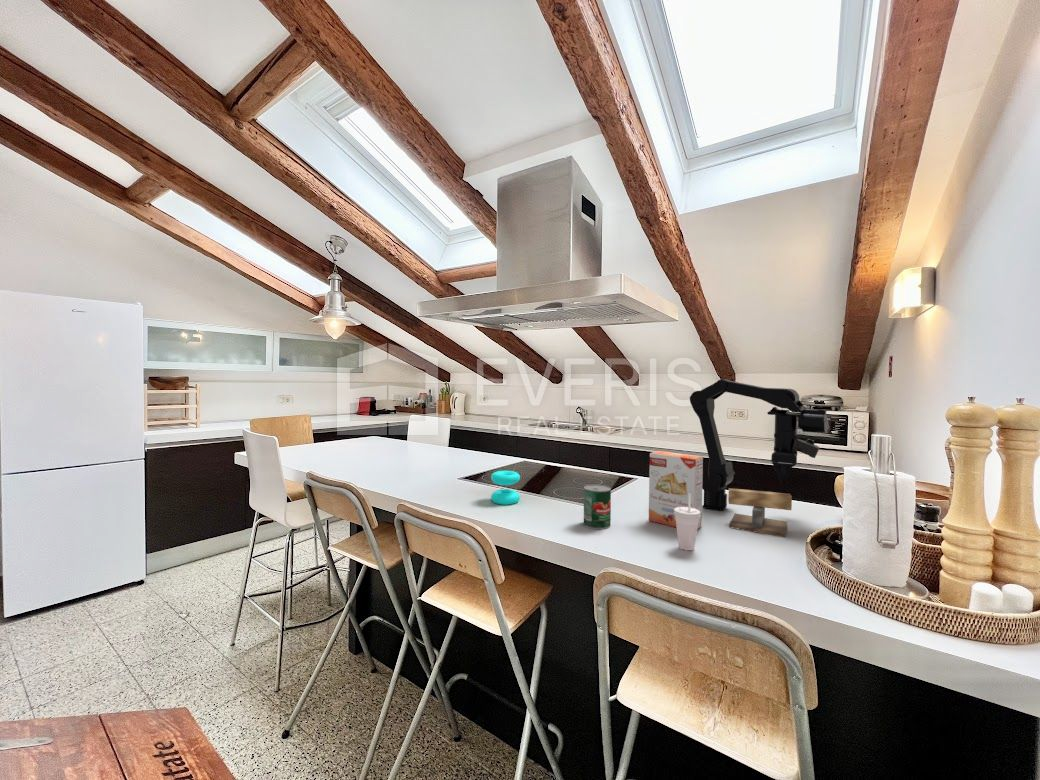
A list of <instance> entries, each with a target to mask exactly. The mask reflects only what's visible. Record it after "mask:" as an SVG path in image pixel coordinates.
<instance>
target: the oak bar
mask: <svg viewBox="0 0 1040 780" xmlns="http://www.w3.org/2000/svg"><path fill="white" fill-rule="evenodd" d="M792 497H793V496H792V495H791V493H785V492H784V493H783V492H775V491H774V492H773V491H763V490H754V489H752V490H751V489H740V488H730V487H729V488H728V493H727V503H728V504H729V505H735V506H746V507H763V508H765V509H766V508H767V509H775V510H785V511H792V507H793V506H792V504H793V503H792V501H793V498H792Z"/></svg>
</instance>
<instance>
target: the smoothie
mask: <svg viewBox="0 0 1040 780" xmlns="http://www.w3.org/2000/svg"><path fill="white" fill-rule="evenodd" d="M674 514H675V517H676V526H677V527H676V535H677V542H678V549H680V548H681V550H682V549H684V550H683V551H686V550H692V551H694V550H695V547H696V546H695V545H696V539H697V534H698V533H697V532H698V529H697V528H698V521H699V517H700V516H701V515H700V511H699V510H698V509H695V508H691V494H690V493H689V498H688V507H676V508H675V509H674ZM693 549H694V550H693Z"/></svg>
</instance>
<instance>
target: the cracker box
mask: <svg viewBox="0 0 1040 780" xmlns="http://www.w3.org/2000/svg"><path fill="white" fill-rule="evenodd" d="M703 463H704V456H700V455H694V454H685V453H678V452H677V453H676V452H672V451H671V452H670V451H666V450H665V451H663V450H657V451H652V452H650V453H649V474H648V475H649V478H648V479H649V483H648V484H649V485H648V521H649V522H654V523H658V524H662V525H666V526H669V527H675V528H677V526H676V517H675V514H674V509H675V508H676V507H688V498H689V493H690V494H691V508H695V509H698V510H699V511H700V515H701V516H700V517H699V521H698V528H699V529H700V528H702V524H703V523H702V521H703V519H702V518H703V515H702V514H703V507H702V506H703V488H702V484H703V482H704V480H703V478H704V477H703V476H704V475H703V474H704V470H703V469H704V468H703V467H704V464H703ZM698 528H697V530H698Z"/></svg>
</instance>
